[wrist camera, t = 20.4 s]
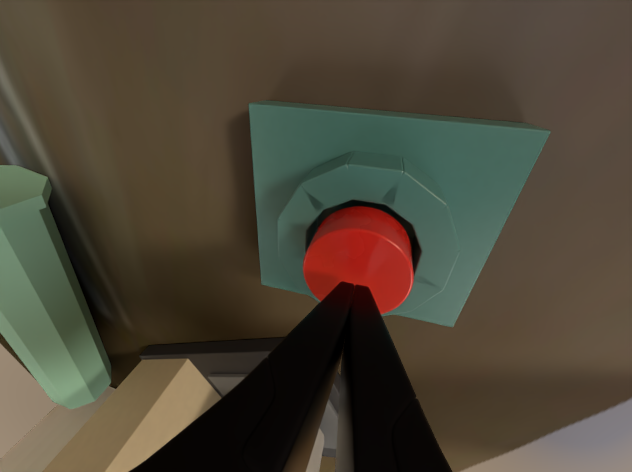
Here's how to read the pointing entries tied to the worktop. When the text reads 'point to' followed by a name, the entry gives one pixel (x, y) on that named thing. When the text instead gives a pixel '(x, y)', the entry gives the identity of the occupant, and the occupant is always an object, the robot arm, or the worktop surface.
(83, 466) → the coffee maker
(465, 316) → the worktop surface
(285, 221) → the control block
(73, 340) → the container
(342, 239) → the button
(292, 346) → the robot arm
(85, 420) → the bottle
